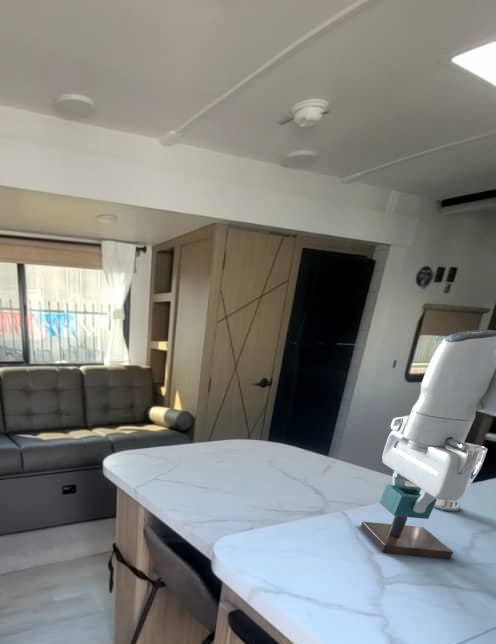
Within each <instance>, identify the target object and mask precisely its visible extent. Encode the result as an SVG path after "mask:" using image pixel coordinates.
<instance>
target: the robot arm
mask: <svg viewBox="0 0 496 644" xmlns="http://www.w3.org/2000/svg"><path fill="white" fill-rule="evenodd" d="M418 396H419V397H418V398H417V400H416V402H415V403H414V405H413V406H412V408H411V410H410V413H409V415H403V416H398V417H394V418H393V419H392V420H391V423H390V429H391V430H392V431H390V433H389V435H388V437H387V439H386V443H385V445H384V449H383V452H382V455H381V456H382V457H381V458H382V464H384V465H385V466H387V467H388V468H390V469H391V470H393V474H392V485H399V486H406V480H408V481H409V482H410V483H412V484H413V485H415V487H419V488H421V491H420V495H421V496H420V497H419V498H418V499H417V501H415V500H413V502H412V505H411V509H412V510H413V511H415V512H417V513H423V512H425V510H426V508H427V505H428V504H430V503H431V502H432V501H433V500H435V499H441V500H453V501H455V500H457V499H459V498H460V497H462V498H463V496H464V494H465V492H466V491H465V488H466V486H467V483H468V480H469V477H470V474H471V470H472V466H473V460H472V457H473V455H472V454H471V451H470V446H469V445H467V444H465V443H466V442H465V441H466V439H467V436H468V434H469V432H470V429H471V427H472V425H473V423H474V420H475V419H476V414H477V413H476V412H479V413H483V414H488V415H489V416H492V417H496V330H493V329H477V330H463V331H457V332H455V333H451V334H449V335H447V336H445V337H444V338H443V339H442V340H441V341H440V343H439V345H438V346H437V348H436V349H435V351H434V353H433V355H432V356H431V358H430V361H429V363H428V366H427V367H426V370H425V371H424V375H423V378H422V380H421V383H420V392H419V395H418ZM466 451H467V452H466ZM464 491H465V492H464ZM463 493H464V494H463ZM462 495H463V496H462Z"/></svg>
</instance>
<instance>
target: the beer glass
mask: <svg viewBox="0 0 496 644" xmlns="http://www.w3.org/2000/svg"><path fill="white" fill-rule="evenodd" d="M464 443H465V444H467V445H469V446H470V451H471V454H472V455H473V457H472V460H473V466H472V470H471V474H470V477H469V480H468V483H467V486H466V488H465V491H464V493H463V495H462V497H460V498H459V499H457V500H455V501H453V500H441V499H437V500H436V503H435V505H434V507H433V508H436V509H438V510H442V511H446V512H457V511H459V510H460V506H461V501H462V498H463V497H464V494H465V492H466V491H467V490H468V488H469V487H470V485H471V484H472V483H473V481H474V480H475V478H476V477H477V475H478V474H479V472H480V470H481V468H482V466H483V463H484V461H485V458H486V455H487V452H488V448H487V447H485V446H483V445H479V444H475V443H470V442H464ZM466 452H467V451H466Z"/></svg>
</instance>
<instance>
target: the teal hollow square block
mask: <svg viewBox="0 0 496 644" xmlns="http://www.w3.org/2000/svg"><path fill="white" fill-rule="evenodd" d="M420 491H421V488H419V487H418V486H409V485H405V486H399V485H393V484H389V483H388V484H385V486H384V489H383V492H382V494H381V497H380V500H379V504H380V505H381V506H382V507H383V508H384V509H386V510H387V511H388V512H389V513H391V515H393V516H394V517H395V516H402V517H407V518H413V519H423V520H429V518H430V517H431V514H432V511H433V510H434V508H435V507H434V505H435V503H436V500H437V499H435V500H433V501H432V502H431V503H430V504H428V505H427V508H426V510H425V512H423V513H417V512H415V511H413V510H412V509H411V505H412V502H413V500H415V501H417V499H418V498H419V497H420V496H421V495H420Z"/></svg>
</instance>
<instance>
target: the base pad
mask: <svg viewBox="0 0 496 644" xmlns="http://www.w3.org/2000/svg"><path fill="white" fill-rule="evenodd" d="M407 521H408V517H402V516H394V517H393V521H392V522H391V523H382V522H373V521H372V522H370V521H361V524H360V527H359V528H360V529H361V531H363V532H364V534H365V535H366V536H367V537H368V538H369V539H370V540H371V541H372V542H373V544H374V545H375V546H377V548H378V549H379V550H380V551H381V552H382V553H389V554H399V555H410V556H419V557H428V558H429V557H430V558H437V559H438V558H439V559H449V560H451V558H452V556H453V554H454V551H453V550H452V549H451V548H449V547H448V546H447V545H446V544H444V543H443V542H442V541H441V540H439V539H438V538H437V537H436V536H434V535H433V534H432V533H431V532H430V531H429V530H427V529H426V528H425V527H424V526H414V525H406V523H407Z"/></svg>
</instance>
